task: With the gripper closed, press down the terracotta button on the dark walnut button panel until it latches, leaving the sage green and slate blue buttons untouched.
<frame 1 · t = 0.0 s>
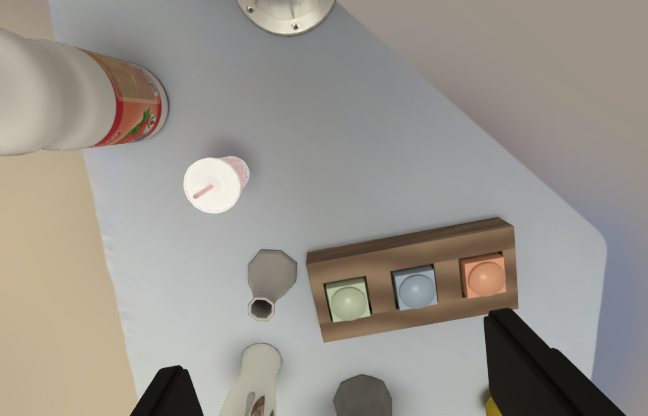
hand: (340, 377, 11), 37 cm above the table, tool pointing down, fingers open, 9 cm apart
terracotta button: (482, 275, 46), point 4 cm above the table, slide at 0.0 cm
lemon: (493, 395, 56), on the table
flask: (272, 271, 50), on the table
beverage cup: (232, 173, 46), on the table
button panel: (407, 273, 50), on the table
coffeepot: (355, 397, 56), on the table
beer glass: (261, 359, 54), on the table
fruit juice: (133, 103, 44), on the table
slate blue button: (414, 287, 46), point 4 cm above the table, slide at 0.0 cm
sage green button: (348, 299, 46), point 4 cm above the table, slide at 0.0 cm
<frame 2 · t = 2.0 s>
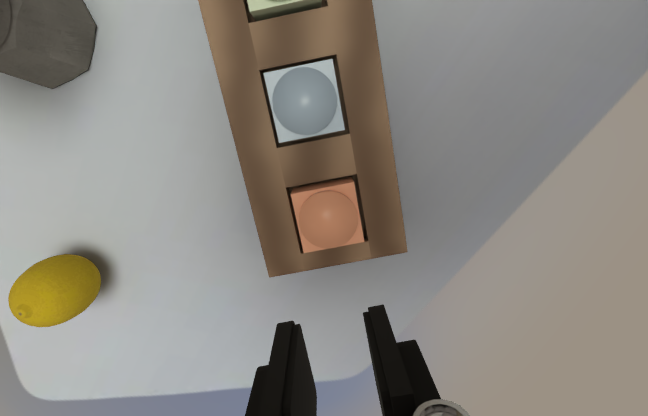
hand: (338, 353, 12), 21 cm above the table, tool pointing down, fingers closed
terracotta button: (328, 215, 28), point 4 cm above the table, slide at 0.0 cm
lemon: (90, 268, 34), on the table
button panel: (307, 104, 30), on the table
coffeepot: (40, 15, 28), on the table
slate blue button: (305, 102, 26), point 4 cm above the table, slide at 0.0 cm
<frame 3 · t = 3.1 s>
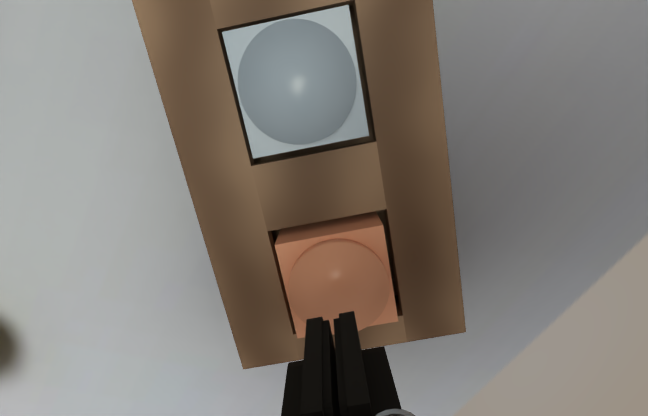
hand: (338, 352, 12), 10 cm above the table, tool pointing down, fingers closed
terracotta button: (337, 275, 17), point 4 cm above the table, slide at 0.0 cm
button panel: (304, 93, 19), on the table
slate blue button: (299, 87, 15), point 4 cm above the table, slide at 0.0 cm
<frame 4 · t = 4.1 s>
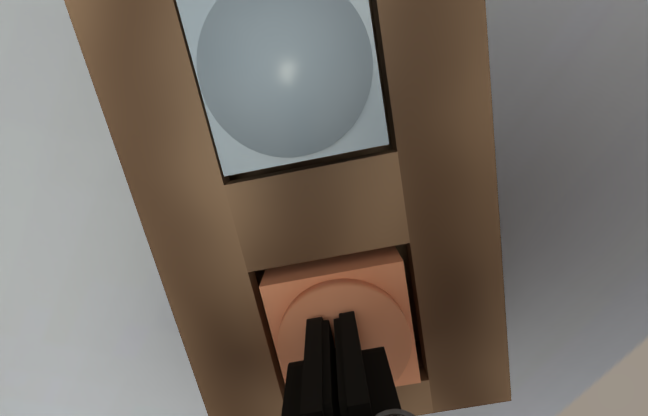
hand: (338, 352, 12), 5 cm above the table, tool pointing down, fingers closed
terracotta button: (341, 321, 13), point 4 cm above the table, slide at 0.5 cm, touching gripper
button panel: (299, 86, 14), on the table
slate blue button: (290, 75, 11), point 4 cm above the table, slide at 0.0 cm
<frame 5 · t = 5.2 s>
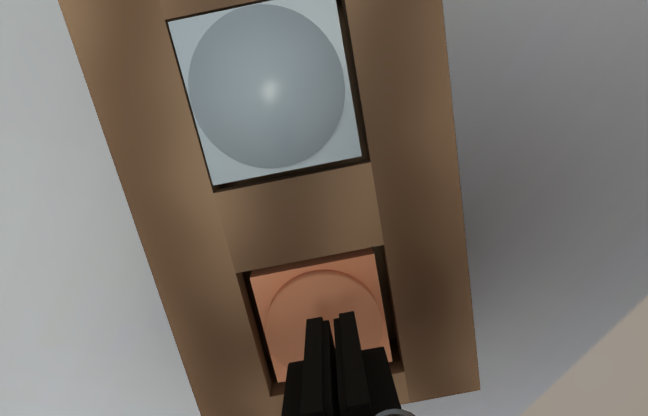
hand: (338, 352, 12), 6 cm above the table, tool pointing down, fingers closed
terracotta button: (323, 309, 15), point 3 cm above the table, slide at 1.3 cm
button panel: (283, 101, 16), on the table
slate blue button: (273, 94, 12), point 4 cm above the table, slide at 0.0 cm
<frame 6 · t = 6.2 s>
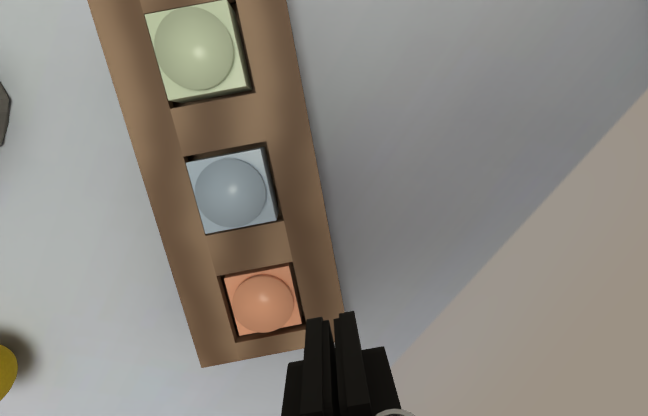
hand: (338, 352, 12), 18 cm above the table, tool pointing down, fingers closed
terracotta button: (265, 295, 28), point 3 cm above the table, slide at 1.3 cm
lemon: (9, 350, 31), on the table
button panel: (244, 181, 28), on the table
slate blue button: (234, 189, 24), point 4 cm above the table, slide at 0.0 cm
sage green button: (201, 54, 22), point 4 cm above the table, slide at 0.0 cm
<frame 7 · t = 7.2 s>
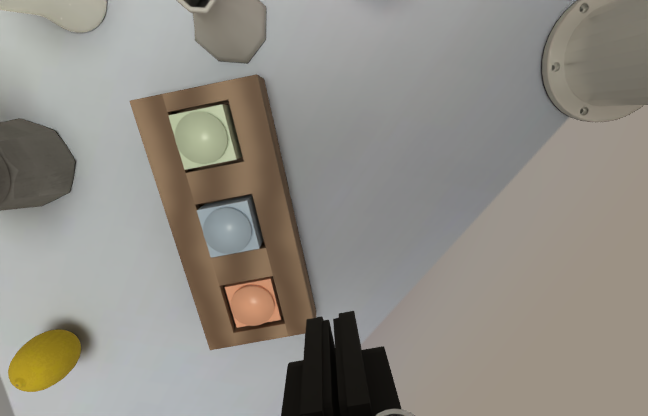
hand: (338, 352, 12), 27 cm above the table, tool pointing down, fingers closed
terracotta button: (254, 299, 38), point 3 cm above the table, slide at 1.3 cm
lemon: (73, 335, 43), on the table
flask: (231, 25, 34), on the table
button panel: (240, 215, 39), on the table
coffeepot: (32, 152, 37), on the table
slate blue button: (230, 226, 35), point 4 cm above the table, slide at 0.0 cm
sage green button: (206, 137, 32), point 4 cm above the table, slide at 0.0 cm
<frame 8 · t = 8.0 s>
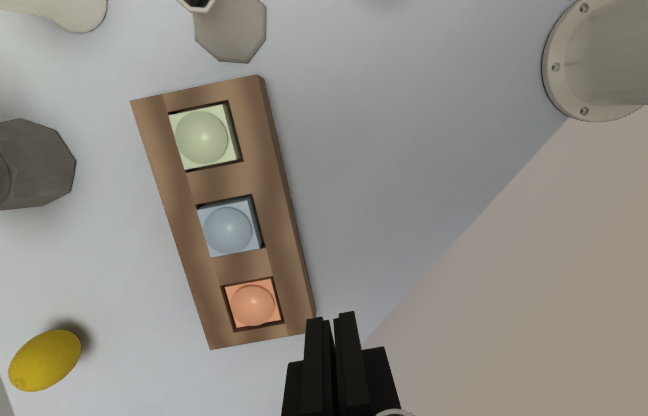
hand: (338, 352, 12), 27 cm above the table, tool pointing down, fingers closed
terracotta button: (254, 299, 38), point 3 cm above the table, slide at 1.3 cm
lemon: (73, 335, 43), on the table
flask: (231, 25, 34), on the table
button panel: (240, 215, 39), on the table
coffeepot: (32, 152, 37), on the table
slate blue button: (231, 226, 35), point 4 cm above the table, slide at 0.0 cm
sage green button: (206, 137, 32), point 4 cm above the table, slide at 0.0 cm
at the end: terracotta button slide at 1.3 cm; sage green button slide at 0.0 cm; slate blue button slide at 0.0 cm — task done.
